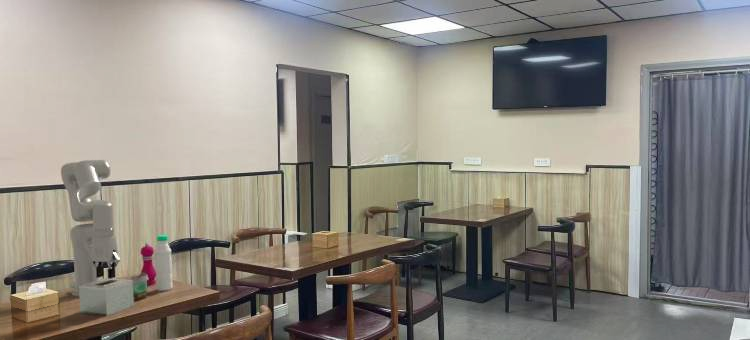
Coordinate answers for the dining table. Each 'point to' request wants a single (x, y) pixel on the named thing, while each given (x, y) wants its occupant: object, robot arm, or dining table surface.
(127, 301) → the box
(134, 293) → the half-round slice
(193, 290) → the dining table surface
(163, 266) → the water bottle
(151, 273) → the pepper mill
